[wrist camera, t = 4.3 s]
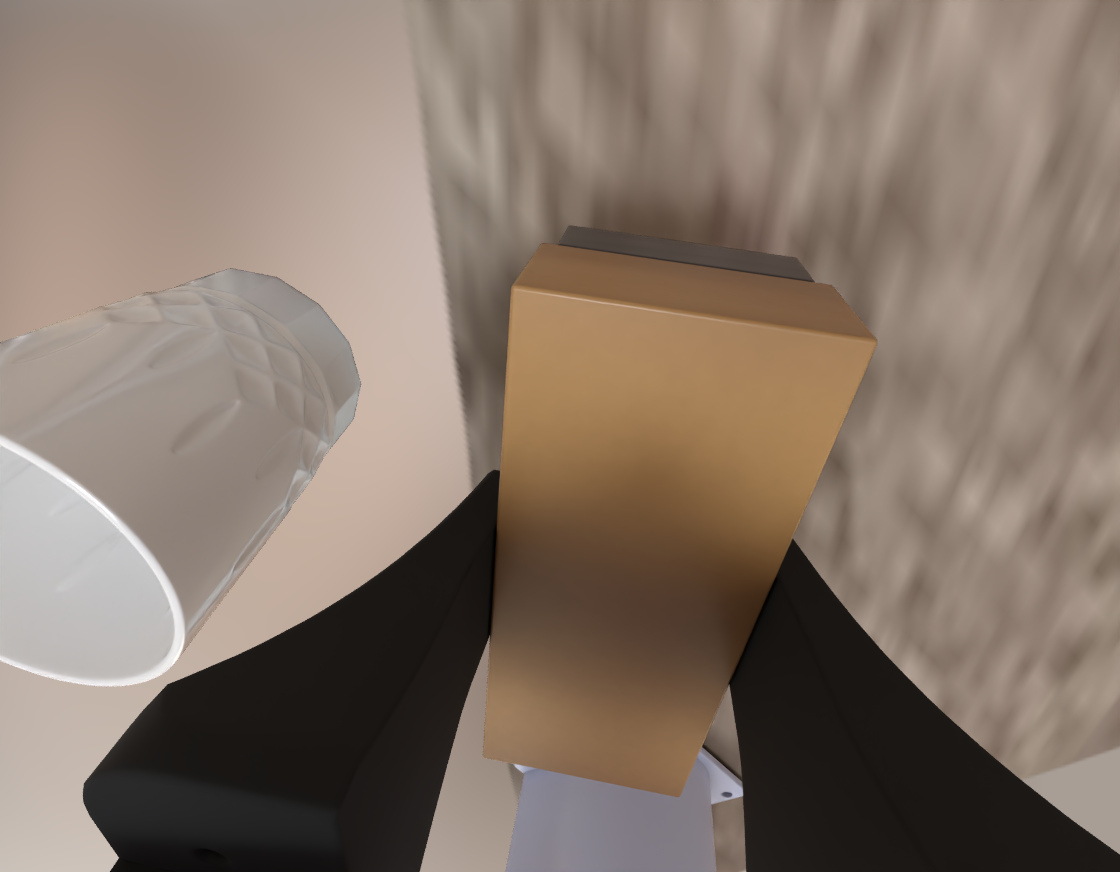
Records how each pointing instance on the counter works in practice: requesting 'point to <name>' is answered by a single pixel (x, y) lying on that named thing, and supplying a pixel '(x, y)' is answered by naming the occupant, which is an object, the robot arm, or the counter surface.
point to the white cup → (155, 465)
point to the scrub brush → (650, 490)
